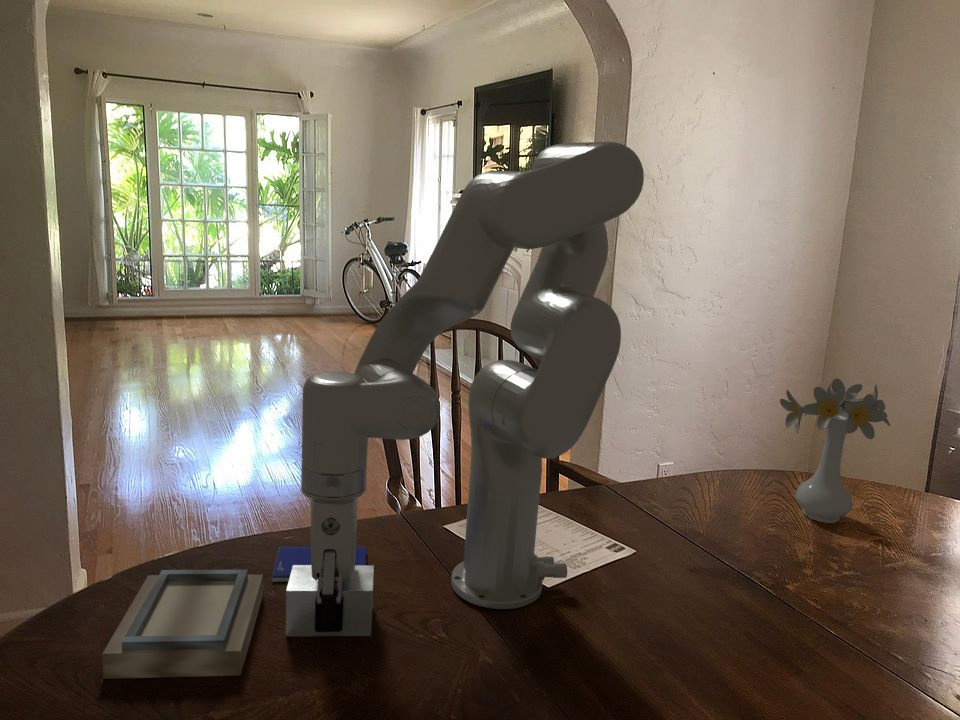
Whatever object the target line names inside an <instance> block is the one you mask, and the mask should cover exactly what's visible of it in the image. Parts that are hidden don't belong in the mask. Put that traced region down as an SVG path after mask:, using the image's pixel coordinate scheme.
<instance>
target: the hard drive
mask: <svg viewBox="0 0 960 720" xmlns="http://www.w3.org/2000/svg"><path fill="white" fill-rule="evenodd" d="M366 549H367V547H366V546H356V560H355V565H367V564H366V563H367V550H366ZM276 555H277V557H276V560H275V564H274V569H273V572H272V579H271V580H272V583H273V582H280V583H281V582H289V578H290V574H291V571H292V567H293V565H311V546H279V547H278V551H277V554H276Z"/></svg>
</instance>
